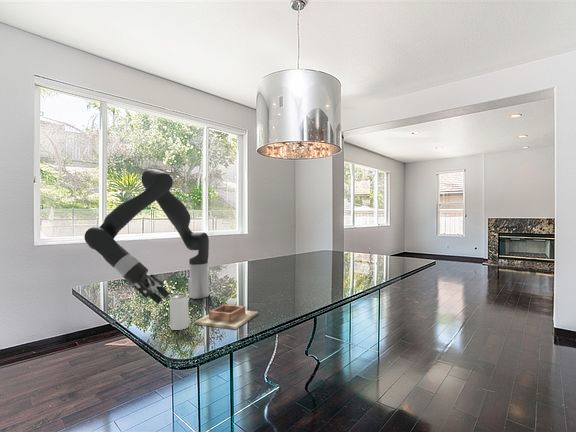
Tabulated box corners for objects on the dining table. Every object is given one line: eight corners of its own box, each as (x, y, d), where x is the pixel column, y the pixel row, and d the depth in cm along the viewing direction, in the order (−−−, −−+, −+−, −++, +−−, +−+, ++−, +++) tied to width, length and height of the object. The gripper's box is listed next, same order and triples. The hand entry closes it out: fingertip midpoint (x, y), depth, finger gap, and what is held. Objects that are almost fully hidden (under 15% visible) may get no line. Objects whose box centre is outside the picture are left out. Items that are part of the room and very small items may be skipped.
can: (173, 325, 117) (172, 294, 117) (190, 324, 118) (189, 293, 117) (168, 331, 110) (167, 298, 110) (186, 330, 111) (185, 297, 111)
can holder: (194, 324, 118) (194, 313, 118) (221, 310, 134) (221, 301, 134) (235, 329, 111) (235, 318, 111) (257, 314, 128) (257, 304, 128)
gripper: (130, 264, 106) (165, 296, 107) (145, 258, 120) (176, 286, 121) (114, 280, 105) (150, 312, 106) (131, 273, 119) (162, 300, 120)
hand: (164, 298), depth 113 cm, fingers open, 8 cm apart
